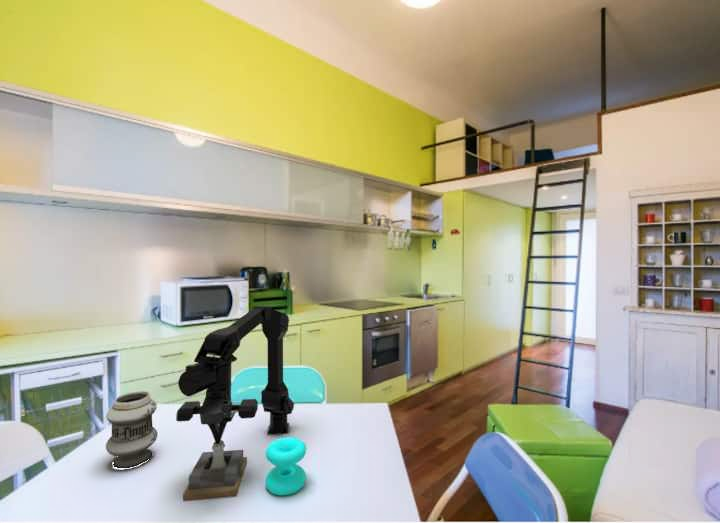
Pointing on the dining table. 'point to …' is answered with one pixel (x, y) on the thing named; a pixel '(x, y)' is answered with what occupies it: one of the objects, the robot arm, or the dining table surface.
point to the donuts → (285, 466)
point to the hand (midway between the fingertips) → (218, 442)
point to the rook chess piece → (218, 456)
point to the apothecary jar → (131, 429)
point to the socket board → (215, 490)
